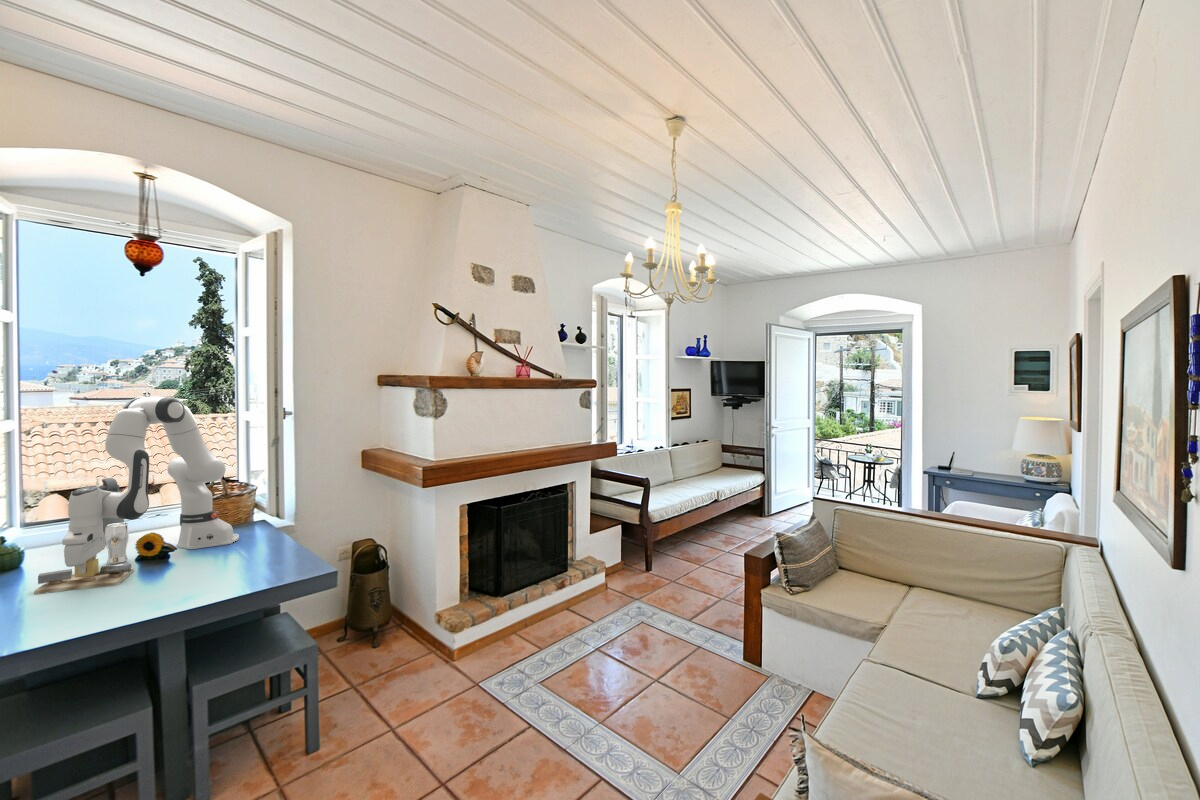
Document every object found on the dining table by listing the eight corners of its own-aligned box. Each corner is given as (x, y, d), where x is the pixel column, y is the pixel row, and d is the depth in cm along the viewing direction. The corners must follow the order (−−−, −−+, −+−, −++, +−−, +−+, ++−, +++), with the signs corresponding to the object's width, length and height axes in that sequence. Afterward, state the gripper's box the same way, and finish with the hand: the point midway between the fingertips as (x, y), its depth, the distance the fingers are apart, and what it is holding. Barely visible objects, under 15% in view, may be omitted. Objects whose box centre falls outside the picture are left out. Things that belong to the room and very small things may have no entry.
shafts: (131, 570, 194) (131, 562, 194) (125, 575, 190) (125, 566, 190) (43, 579, 184) (43, 570, 184) (35, 584, 180) (35, 575, 180)
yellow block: (74, 577, 185) (74, 563, 185) (80, 573, 189) (80, 560, 189) (93, 575, 187) (93, 562, 187) (98, 571, 191) (98, 558, 191)
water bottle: (128, 540, 234) (127, 479, 233) (98, 546, 226) (97, 482, 225) (120, 536, 240) (119, 476, 239) (91, 541, 231) (90, 479, 230)
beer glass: (102, 562, 207) (101, 525, 206) (124, 557, 213) (124, 521, 213) (109, 566, 204) (109, 528, 203) (132, 560, 210) (131, 524, 209)
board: (133, 571, 199) (133, 565, 199) (117, 585, 186) (117, 578, 186) (56, 579, 190) (56, 573, 190) (34, 594, 177) (34, 587, 177)
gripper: (88, 525, 195) (89, 561, 196) (59, 541, 177) (60, 581, 177) (110, 524, 198) (111, 559, 199) (83, 540, 179) (84, 579, 180)
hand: (86, 570), depth 188 cm, fingers closed on yellow block, 4 cm apart
